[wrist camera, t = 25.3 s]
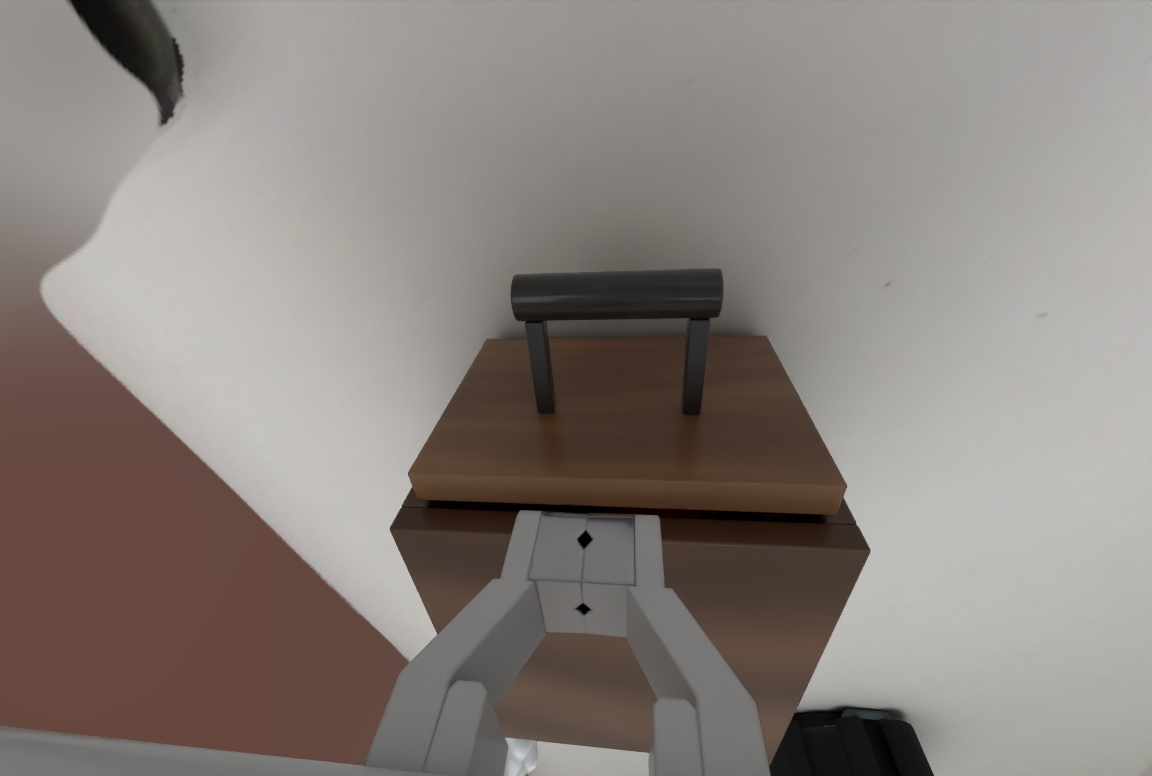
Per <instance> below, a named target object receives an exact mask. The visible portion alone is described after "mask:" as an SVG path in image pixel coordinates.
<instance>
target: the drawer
mask: <svg viewBox="0 0 1152 776" xmlns="http://www.w3.org/2000/svg"><path fill="white" fill-rule="evenodd" d="M722 302H723V276H722V272H721V269H719V268H708V269H676V270H644V271H611V272H579V273H547V274H517V275H515V276H514V277H513V280H512V284H511V304H512V310H513V314H514V317H515V319H516V320H517V321H526V322H525V330H526V336H527V339H487V340H486V341H485V343H484V345H483V346H482V348H481V350H480V352H479V353H478V355H477V357H476V358H475V360H474V362H473V363H472V365H471V367H470V368H469V370H468V372H467V374H466V375H465V377H464V379H463V380H462V382H461V384H460V385H459V387H458V389H457V390H456V392H455V394H454V396H453V397H452V399H451V401H450V402H449V404H448V406H447V407H446V409H445V411H444V413H443V414H442V416H441V418H440V419H439V421H438V423H437V424H436V426H435V428H434V429H433V431H432V433H431V435H430V436H429V438H428V440H427V441H426V443H425V445H424V446H423V448H422V450H421V451H420V453H419V455H418V457H417V458H416V460H415V462H414V463H413V465H412V467H411V468H410V470H409V472H408V476H409V478H410V481H411V484H412V486H413V489H414V491H415V494H416V497H417V499H419V500H441V501H463V504H462V506H461V509H460V510H485V511H511V512H520V510H528V511H549V512H565V513H581V514H588V513H603V512H602V510H601V508H600V506H605V507H633V508H660V509H687V510H715V511H719V512H718V514H717V516H716V519H717V520H742V521H767V522H788V521H787V518H786V516H785V513H797V514H825V515H836V514H837V512H838V509H839V507H840V504H841V501H842V499H843V496H844V493H845V491H846V488H847V484H846V482H845V481H844V479H843V477H842V475H841V473H840V471H839V469H838V468H837V466H836V464H835V462H834V460H833V458H832V456H831V455H830V453H829V451H828V449H827V447H826V445H825V444H824V442H823V440H822V438H821V436H820V434H819V432H818V431H817V429H816V427H815V425H814V423H813V421H812V419H811V418H810V416H809V414H808V412H807V410H806V408H805V406H804V405H803V403H802V401H801V399H800V397H799V395H798V393H797V392H796V390H795V388H794V386H793V384H792V382H791V381H790V379H789V377H788V375H787V373H786V371H785V369H784V368H783V366H782V364H781V362H780V360H779V358H778V356H777V355H776V353H775V351H774V349H773V347H772V345H771V343H770V342H769V340H768V338H767V336H709V329H710V318H717V317H718V316H719V315H720V312H721V308H722ZM670 318H688V320H687V333H686V337H617V338H548V330H547V322H546V321H554V320H612V319H670Z"/></svg>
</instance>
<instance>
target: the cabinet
mask: <svg viewBox="0 0 1152 776" xmlns="http://www.w3.org/2000/svg"><path fill="white" fill-rule="evenodd" d="M462 504H463V501H441V500H419V499H417V497H416V494H415V491H414V489H413V486H412V488H411V490H410V492H409V494H408V495H407V497H406V499H405V501H404V503H403V504H402V508H401V509H400V510H399V512H398V514H397V516H396V518H395V519H394V521H393V523H392V525H391V527H390V531H391V534H392V536H393V538H394V540H395V542H396V545H397V547H398V549H399V551H400V553H401V556H402V558H403V560H404V562H405V564H406V567H407V569H408V571H409V573H410V575H411V577H412V580H413V582H414V584H415V586H416V588H417V591H418V593H419V595H420V597H421V599H422V602H423V604H424V606H425V608H426V610H427V613H428V615H429V617H430V619H431V621H432V624H433V626H434V628H435V630H436V632H437V635H438V634H439V633H440V632H441V631H442V630H443V629H444V628H445V627H446V626H447V625H448V624H449V623H450V622H451V621H452V620H453V619H454V618H455V617H456V616H457V615H458V614H459V612H460V611H461V610H462V609H463V608H464V607H465V606H466V605H467V604H468V603H469V602H470V601H471V600H472V599H473V598H474V597H475V596H476V595H477V594H478V593H479V592H480V591H481V590H482V589H483V588H484V587H485V586H486V585H487V584H488V583H489V582H490V581H491V580H492V579H500V577H501V574H502V570H503V566H504V562H505V558H506V555H507V551H508V547H509V543H510V539H511V536H512V532H513V528H514V524H515V520H516V517H517V515H518V513H519V512H511V511H485V510H460V509H461V506H462ZM785 516H786V518H787V521H788V522H767V521H742V520H716V519H690V518H665V517H659V519H660V528H661V542H662V556H663V570H664V584H665V588H672V589H673V590H674V591H675V593H676V594H677V595H678V597H679V598H680V600H681V601H682V602H683V604H684V605H685V606H686V608H687V609H688V611H689V612H690V613H691V615H692V616H693V617H694V619H695V620H696V622H697V623H698V624H699V626H700V627H701V628H702V630H703V631H704V633H705V634H706V635H707V637H708V638H709V639H710V641H711V642H712V644H713V645H714V646H715V648H716V649H717V650H718V652H719V653H720V655H721V656H722V657H723V659H724V660H725V661H726V663H727V664H728V666H729V667H730V668H731V670H732V671H733V672H734V674H735V675H736V677H737V678H738V679H739V681H740V682H741V683H742V685H743V686H744V688H745V689H746V690H747V692H748V693H749V694H750V696H751V697H752V699H753V700H754V701H755V703H756V706H757V711H758V716H759V721H760V726H761V731H762V736H763V741H764V746H765V751H766V756H767V760H768V765H770V764H771V762H772V760H773V758H774V756H775V754H776V751H777V749H778V747H779V745H780V743H781V741H782V739H783V737H784V734H785V732H786V730H787V728H788V726H789V724H790V722H791V720H792V717H793V715H794V713H795V711H796V709H797V707H798V705H799V703H800V700H801V698H802V696H803V694H804V692H805V690H806V688H807V686H808V683H809V681H810V679H811V677H812V675H813V673H814V671H815V669H816V666H817V664H818V662H819V660H820V658H821V656H822V654H823V652H824V649H825V647H826V645H827V643H828V641H829V639H830V637H831V635H832V632H833V630H834V628H835V626H836V624H837V622H838V620H839V618H840V615H841V613H842V611H843V609H844V607H845V605H846V603H847V601H848V598H849V596H850V594H851V592H852V590H853V588H854V586H855V584H856V581H857V579H858V577H859V575H860V573H861V571H862V569H863V567H864V564H865V562H866V560H867V558H868V556H869V554H870V548H869V546H868V544H867V542H866V540H865V538H864V536H863V535H862V533H861V531H860V529H859V527H858V526H857V525H856V521H855V519H854V517H853V515H852V513H851V511H850V509H849V507H848V506H847V504H846V502H845V500H844V498H843V499H842V501H841V504H840V507H839V509H838V512H837V514H836V515H825V514H797V513H785ZM657 700H658V699H657V697H656V695H655V693H654V691H653V689H652V687H651V685H650V683H649V681H648V679H647V677H646V675H645V674H644V672H643V670H642V668H641V666H640V664H639V662H638V660H637V658H636V656H635V654H634V652H633V650H632V648H631V646H630V644H629V642H628V640H627V637H617V636H606V635H596V634H585V633H560V632H545V636H544V638H543V639H542V640H541V642H540V643H539V645H538V646H537V648H536V649H535V650H534V652H533V653H532V655H531V656H530V658H529V659H528V660H527V662H526V663H525V665H524V666H523V668H522V669H521V670H520V672H519V673H518V675H517V676H516V678H515V679H514V680H513V682H512V683H511V685H510V686H509V688H508V689H507V690H506V692H505V693H504V695H503V696H502V698H501V699H500V700H499V702H498V703H497V705H496V706H495V708H494V710H495V713H496V715H497V718H498V721H499V723H500V726H501V728H502V731H503V733H504V736H505V738H515V739H524V740H534V741H543V742H552V743H562V744H571V745H581V746H590V747H600V748H609V749H619V750H628V751H637V752H647V753H649V750H650V738H651V725H652V713H653V705H654V704H655V703H656V701H657Z"/></svg>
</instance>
